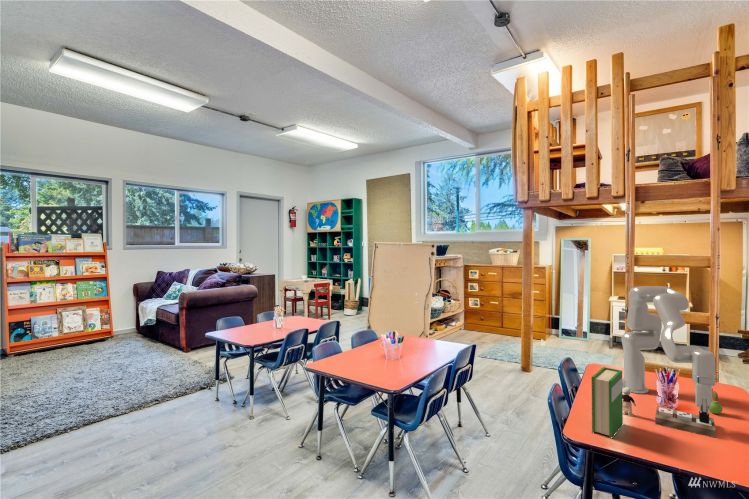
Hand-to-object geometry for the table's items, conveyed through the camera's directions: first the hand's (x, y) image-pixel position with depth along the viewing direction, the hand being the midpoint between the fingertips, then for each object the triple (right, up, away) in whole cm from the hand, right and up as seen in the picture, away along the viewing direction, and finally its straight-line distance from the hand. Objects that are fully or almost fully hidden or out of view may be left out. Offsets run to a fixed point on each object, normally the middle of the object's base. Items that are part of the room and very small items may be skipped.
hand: (704, 421), depth 162 cm
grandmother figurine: (-23, -4, +15) cm, 28 cm away
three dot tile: (-5, -1, +4) cm, 7 cm away
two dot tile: (-10, -1, +8) cm, 13 cm away
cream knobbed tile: (0, -3, 0) cm, 3 cm away
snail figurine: (+18, -3, +15) cm, 24 cm away
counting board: (-5, -3, +4) cm, 7 cm away
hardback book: (-40, -4, +2) cm, 41 cm away
